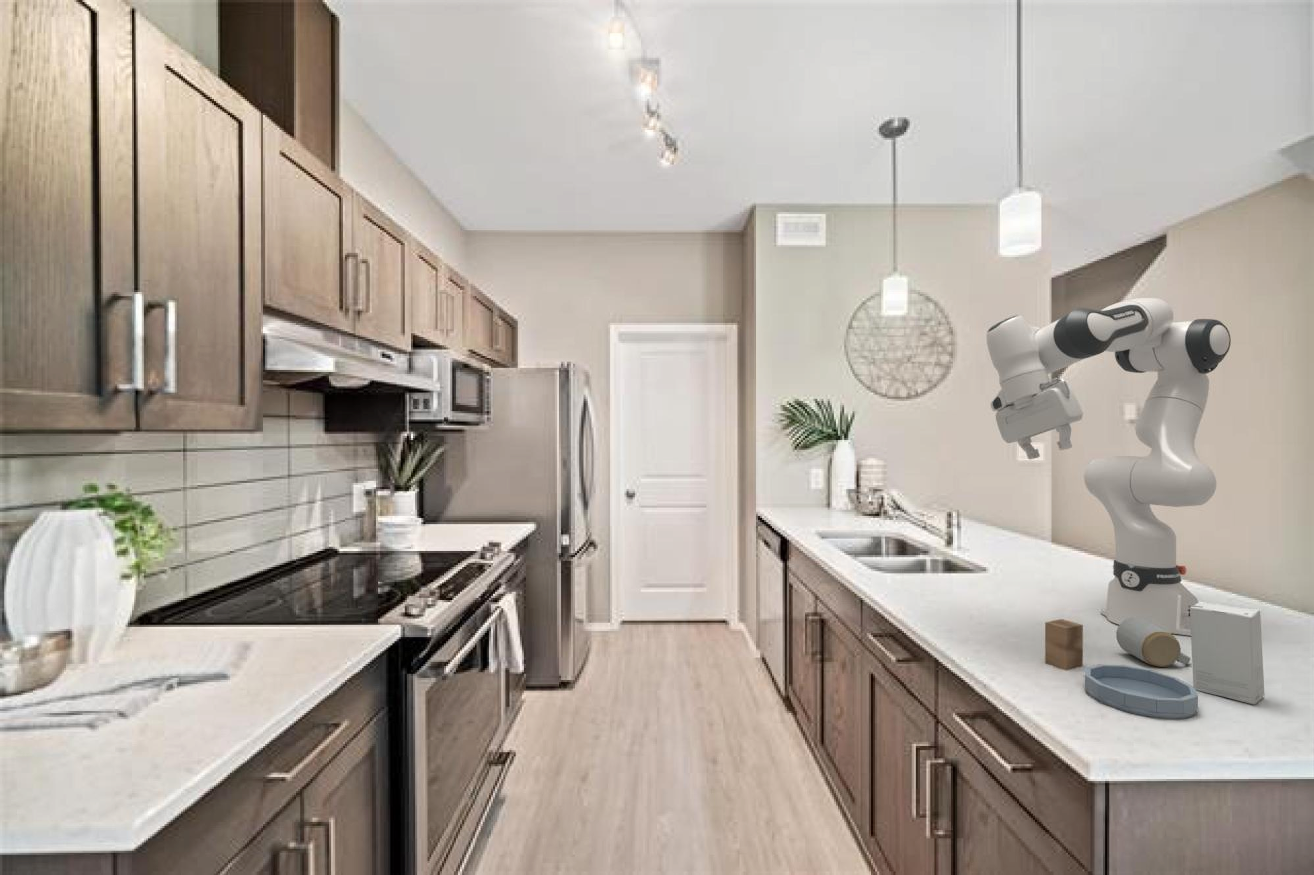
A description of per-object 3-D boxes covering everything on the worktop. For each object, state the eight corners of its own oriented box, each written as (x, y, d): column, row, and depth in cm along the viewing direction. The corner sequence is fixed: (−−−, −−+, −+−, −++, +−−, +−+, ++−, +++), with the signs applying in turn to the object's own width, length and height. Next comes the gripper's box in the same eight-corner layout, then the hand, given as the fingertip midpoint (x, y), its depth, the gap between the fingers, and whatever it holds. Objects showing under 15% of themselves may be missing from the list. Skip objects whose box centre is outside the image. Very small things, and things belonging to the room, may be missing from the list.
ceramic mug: (1143, 668, 117) (1144, 628, 117) (1114, 653, 126) (1115, 615, 125) (1202, 671, 117) (1203, 630, 116) (1170, 655, 125) (1171, 617, 125)
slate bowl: (1117, 675, 114) (1117, 659, 114) (1216, 708, 101) (1216, 689, 100) (1065, 689, 108) (1065, 672, 108) (1163, 726, 94) (1163, 707, 94)
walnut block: (1061, 659, 122) (1061, 619, 122) (1082, 666, 119) (1082, 624, 119) (1045, 663, 120) (1045, 622, 120) (1065, 670, 117) (1066, 628, 117)
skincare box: (1264, 697, 104) (1265, 610, 104) (1253, 706, 101) (1254, 616, 101) (1200, 681, 111) (1201, 599, 111) (1188, 689, 108) (1189, 604, 108)
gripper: (1077, 371, 121) (1102, 439, 118) (1010, 401, 140) (1031, 460, 138) (1048, 377, 120) (1072, 445, 117) (985, 406, 140) (1005, 465, 137)
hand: (1049, 453), depth 127 cm, fingers open, 8 cm apart
